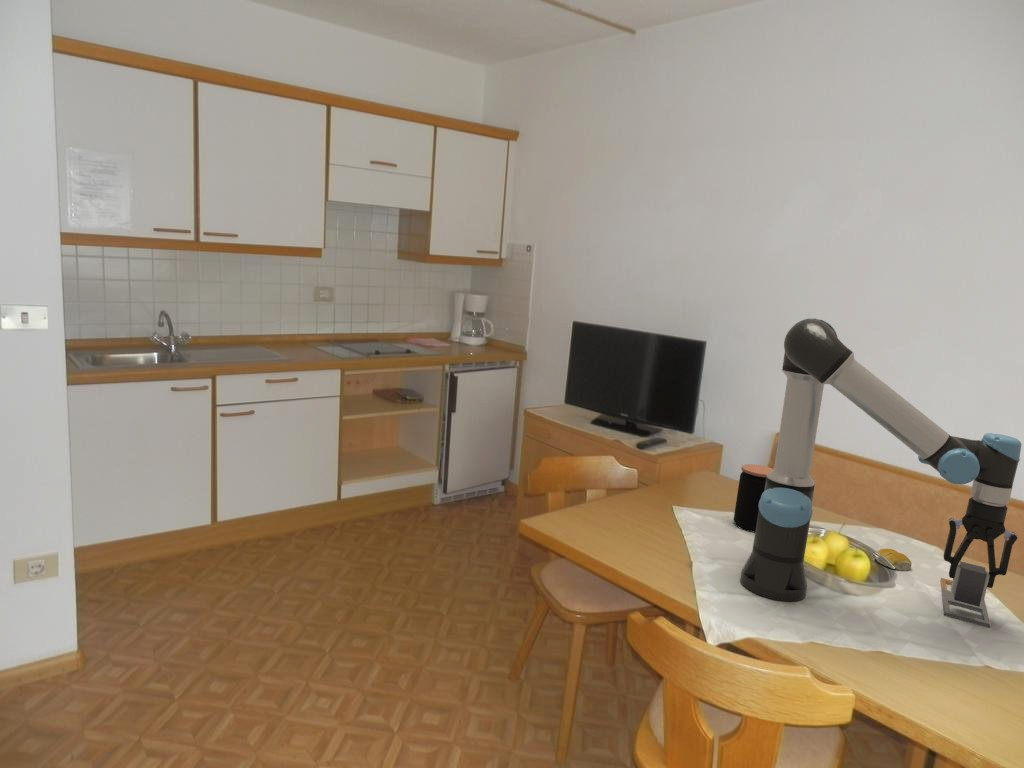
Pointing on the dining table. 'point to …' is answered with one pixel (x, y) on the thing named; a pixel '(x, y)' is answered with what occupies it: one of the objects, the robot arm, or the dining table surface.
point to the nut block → (970, 584)
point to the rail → (949, 599)
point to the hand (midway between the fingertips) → (967, 595)
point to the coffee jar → (750, 495)
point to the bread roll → (896, 559)
